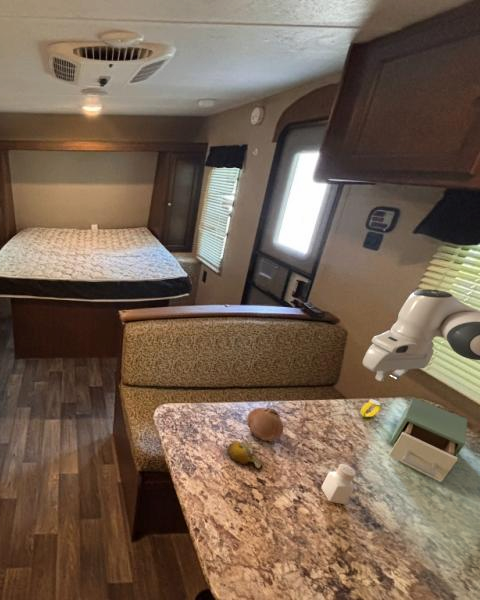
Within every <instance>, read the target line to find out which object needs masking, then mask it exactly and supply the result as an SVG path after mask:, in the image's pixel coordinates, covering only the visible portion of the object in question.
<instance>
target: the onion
mask: <svg viewBox="0 0 480 600" xmlns="http://www.w3.org/2000/svg"><path fill="white" fill-rule="evenodd" d="M246 424H247V426H248V428H249V431H250V433H251V434H252V435H253V436H254V437H255V438H257V439H260V440H262V441H263V442H266V441H269V442H273V441H276V440H278V439H279V438H280V437H281V436H282V434H283V432H284V422H283V421H282V419H281V415H280V414H279V413H278V410H277V411H276V410H275V409H274V408H270V407H256V408H253V409H251V411H249V413H248V414H247V418H246Z"/></svg>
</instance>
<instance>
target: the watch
mask: <svg viewBox="0 0 480 600" xmlns="http://www.w3.org/2000/svg"><path fill="white" fill-rule="evenodd" d="M371 407H373V409H372V410H371V411H370V412H368V413H367V411H368V410H369V409H371ZM381 407H382V406H381V403H380V402H379V401H378V400H376V399H372V398H370V399H368V402H367V403H365V404H364V405H363V406H362V407H361V409H360V415H361V416H363V417H364V418H373V417H374V416H376V415H377V414H378V413H379V412H380V411H381Z"/></svg>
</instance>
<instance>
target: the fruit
mask: <svg viewBox="0 0 480 600" xmlns="http://www.w3.org/2000/svg"><path fill="white" fill-rule="evenodd" d="M226 452H227V454H228V455H229V456H230V457H231V458H232V460H233V461H234V462H236V463H238V464H239V465H241V464H243V465H245V464H249V463H254V466H255V468H256V469H257V470H258V469H260V468H261V467H262V463H261V462H260V460H259V459H258V458H257V456H254V455H253V453H254V447H253V446H252V445H251V444H249V443H244V444H243V443H241V442H240V441H233V442H232V443H230V444H229V445H228V447H227V449H226Z"/></svg>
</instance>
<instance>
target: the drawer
mask: <svg viewBox="0 0 480 600" xmlns="http://www.w3.org/2000/svg"><path fill="white" fill-rule="evenodd" d="M454 450H455V442H453V441H451V440H448V439H446V438H444V437H442V436H439V435H437V434H435V433H433V432H430V431H428V430H426V429H424V428H422V427H419V426H417V425H415V424H413V423H410V422H408V423H407V424H406V426H405V428H404V429H403V431H402V433H401V435H400V437H399V439H398V440H397V442H396V444H395V445H393V447H392V449H391V450H390V452H389V454H388V456H389V457H391V458H393V459H395V460H397V461H399V462H401V463H403V464H405V465H406V466H408V467H410V468H412V469H414V470H416V471H418V472H420V473H421V474H424V475H426V476H427V477H430V478H432V479H433V480H435V481H437V482H439V483H442V482H443V481H444V479H445V478H446V477H447V475H449V473H450V471H451V470H452V469H453V467H454V466H455V465H456V463H457V462H458V460H459V457H457V456H456V457H455V456H453V454H454Z"/></svg>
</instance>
